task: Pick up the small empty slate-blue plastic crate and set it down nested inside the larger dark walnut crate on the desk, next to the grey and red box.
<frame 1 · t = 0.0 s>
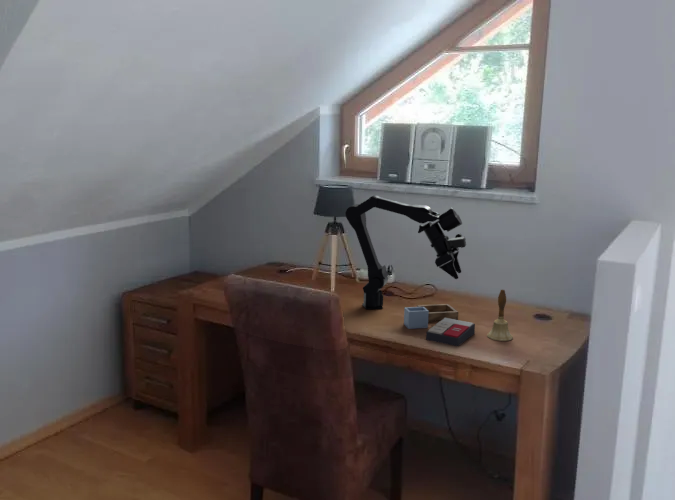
hand: (458, 275, 237), 15 cm above the table, tool tilted 35°, fingers open, 9 cm apart
hand bell: (499, 337, 218), on the table
walnut crate: (436, 316, 238), on the table
small crate: (415, 325, 227), on the table
grey and red box: (450, 338, 218), on the table
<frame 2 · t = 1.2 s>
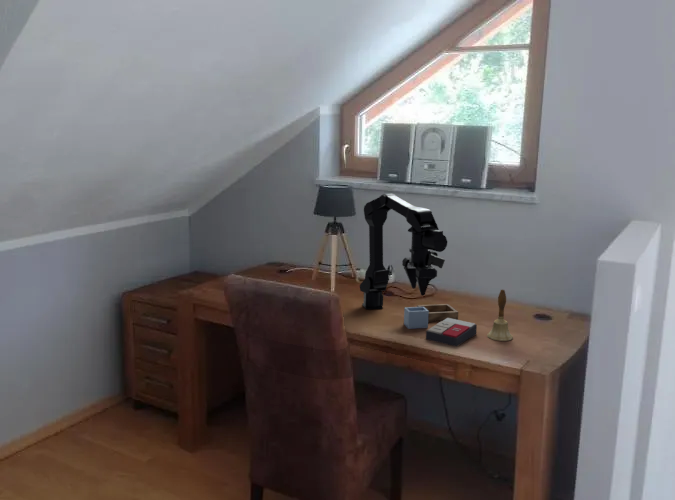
hand: (418, 291, 225), 12 cm above the table, tool pointing down, fingers open, 9 cm apart
nothing on the table moved.
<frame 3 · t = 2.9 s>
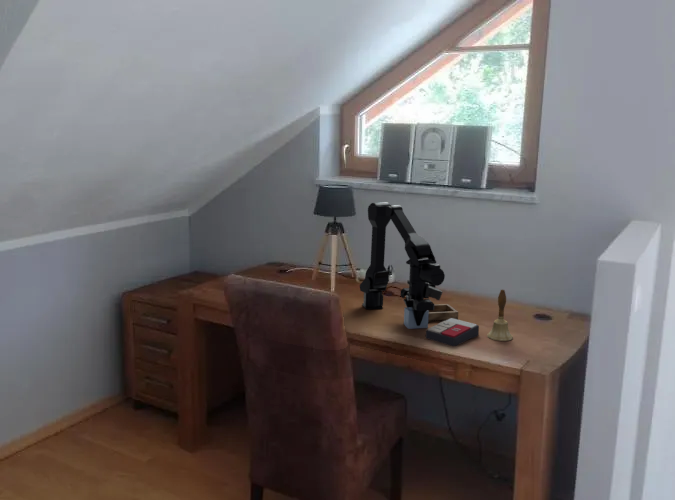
hand: (415, 323, 227), 1 cm above the table, tool pointing down, fingers closed on small crate, 5 cm apart
small crate: (415, 325, 227), on the table, touching gripper
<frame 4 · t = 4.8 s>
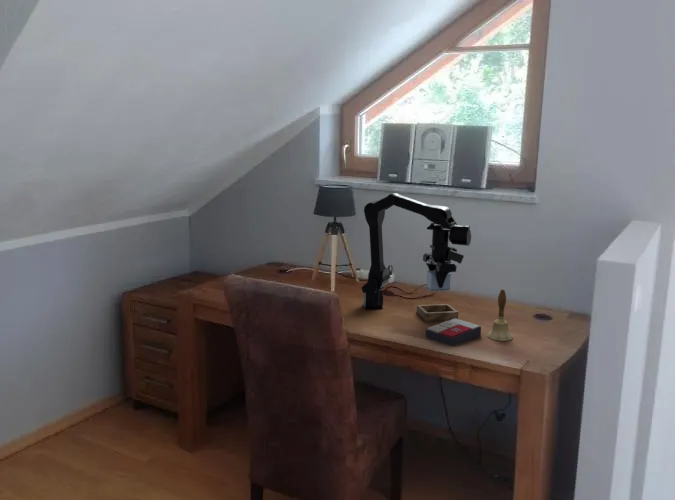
hand: (437, 285, 235), 12 cm above the table, tool pointing down, fingers closed on small crate, 5 cm apart
small crate: (437, 288, 236), point 10 cm above the table, touching gripper
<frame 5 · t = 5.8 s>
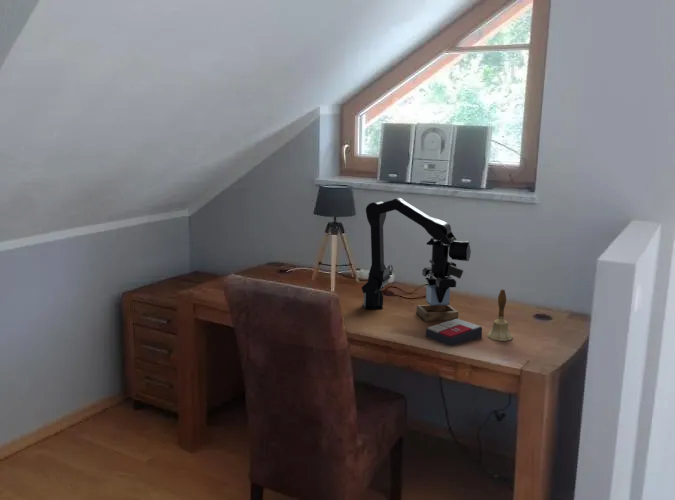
hand: (437, 300, 237), 6 cm above the table, tool pointing down, fingers closed on small crate, 5 cm apart
small crate: (437, 303, 237), point 5 cm above the table, touching gripper
when the fingers open (4 cm above the table, at t = 6.6 s): small crate drops 2 cm, resting on walnut crate.
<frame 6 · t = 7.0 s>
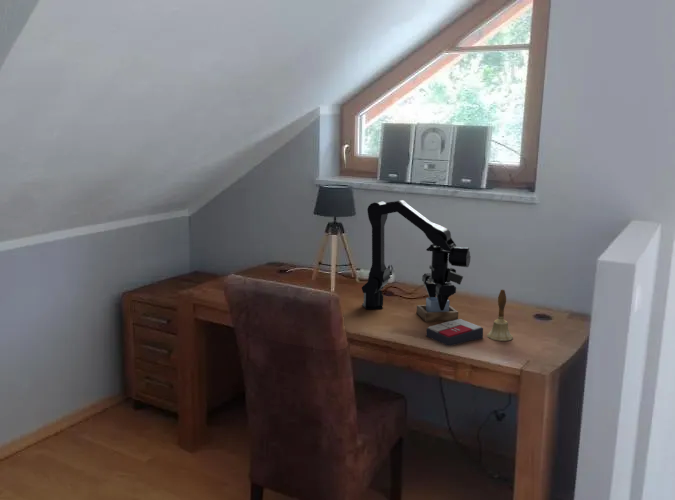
hand: (437, 306, 237), 4 cm above the table, tool pointing down, fingers open, 9 cm apart
small crate: (437, 315, 238), resting on walnut crate
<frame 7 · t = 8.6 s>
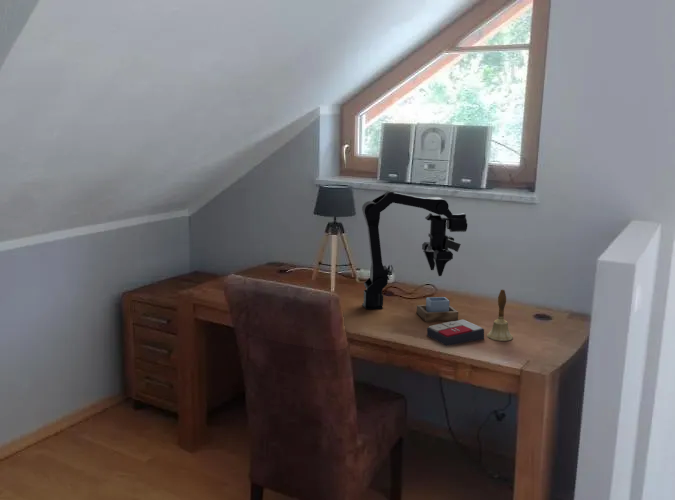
hand: (436, 273, 248), 13 cm above the table, tool pointing down, fingers open, 9 cm apart
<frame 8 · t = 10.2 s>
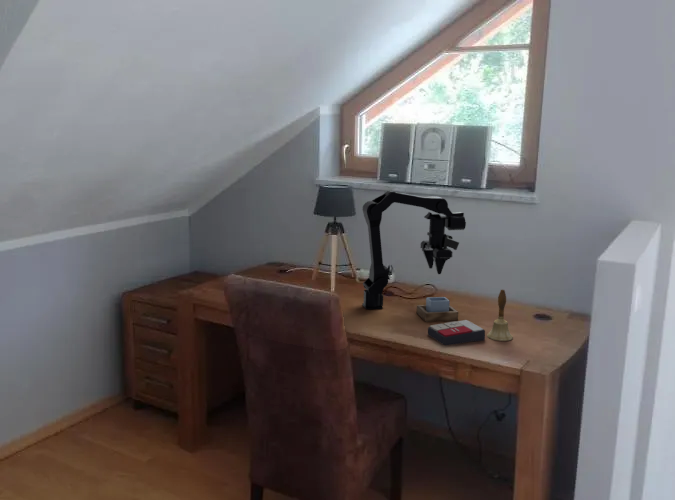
hand: (434, 271, 251), 13 cm above the table, tool pointing down, fingers open, 9 cm apart
at the end: small crate 0.0 cm off-centre on the walnut crate, point 0.5 cm above the walnut crate's base; small crate tilted 0°; the gripper is holding nothing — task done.
